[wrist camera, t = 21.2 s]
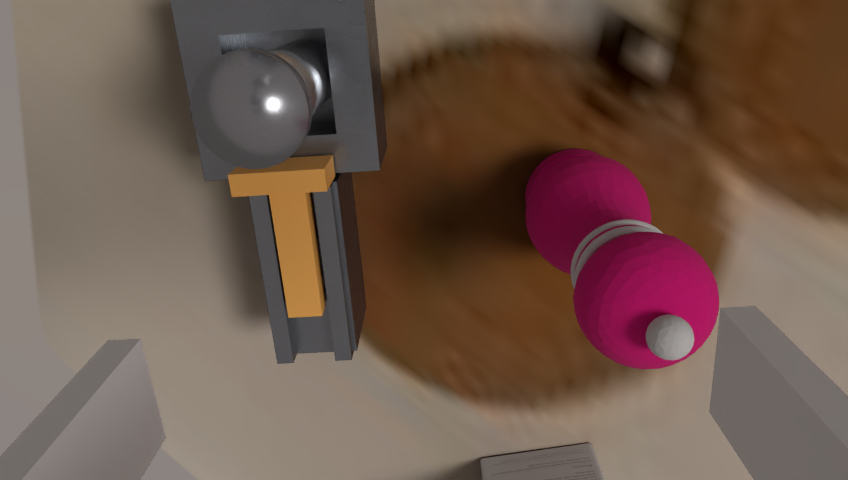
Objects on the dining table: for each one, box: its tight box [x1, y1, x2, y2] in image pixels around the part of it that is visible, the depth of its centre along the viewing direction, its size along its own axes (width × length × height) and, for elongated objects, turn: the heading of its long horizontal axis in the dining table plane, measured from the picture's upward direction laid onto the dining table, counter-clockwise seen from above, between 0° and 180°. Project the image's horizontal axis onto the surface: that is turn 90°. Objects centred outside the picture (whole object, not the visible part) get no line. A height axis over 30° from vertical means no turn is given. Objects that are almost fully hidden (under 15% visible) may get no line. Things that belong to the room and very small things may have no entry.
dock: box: [170, 0, 387, 364], centre depth 39 cm, size 22×10×7 cm, turn 4°
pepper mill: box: [525, 149, 719, 369], centre depth 34 cm, size 7×7×20 cm
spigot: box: [190, 40, 332, 169], centre depth 34 cm, size 5×5×13 cm
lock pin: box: [228, 155, 335, 318], centre depth 36 cm, size 9×5×3 cm, turn 4°
